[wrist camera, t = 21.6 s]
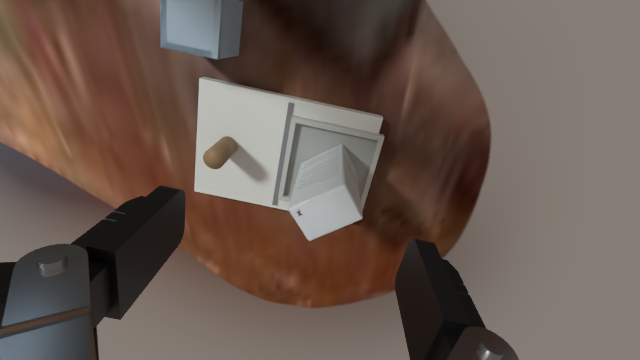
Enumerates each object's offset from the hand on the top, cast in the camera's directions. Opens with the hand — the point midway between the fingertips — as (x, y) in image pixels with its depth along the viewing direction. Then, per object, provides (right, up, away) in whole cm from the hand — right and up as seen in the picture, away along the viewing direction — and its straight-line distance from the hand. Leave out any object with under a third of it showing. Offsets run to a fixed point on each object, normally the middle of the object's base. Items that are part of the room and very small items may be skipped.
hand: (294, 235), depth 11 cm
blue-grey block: (-11, +20, +25) cm, 34 cm away
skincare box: (+2, +4, +30) cm, 30 cm away
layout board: (-4, +5, +31) cm, 32 cm away
